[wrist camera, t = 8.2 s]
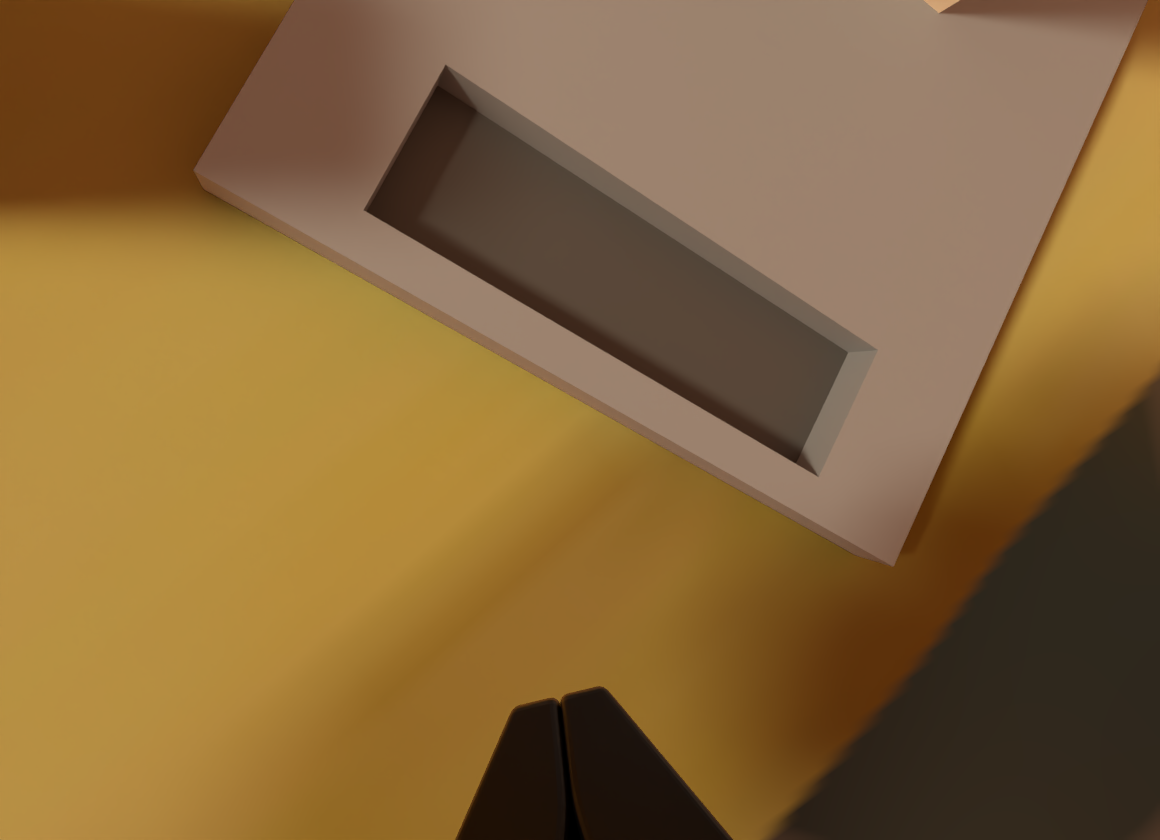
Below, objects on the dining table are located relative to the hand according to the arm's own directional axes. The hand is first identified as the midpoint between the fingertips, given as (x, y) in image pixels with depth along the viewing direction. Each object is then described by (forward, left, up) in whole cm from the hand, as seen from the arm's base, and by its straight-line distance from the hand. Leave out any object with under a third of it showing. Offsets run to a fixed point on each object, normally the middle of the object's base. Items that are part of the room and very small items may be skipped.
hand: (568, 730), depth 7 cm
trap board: (+11, -8, -12) cm, 18 cm away
